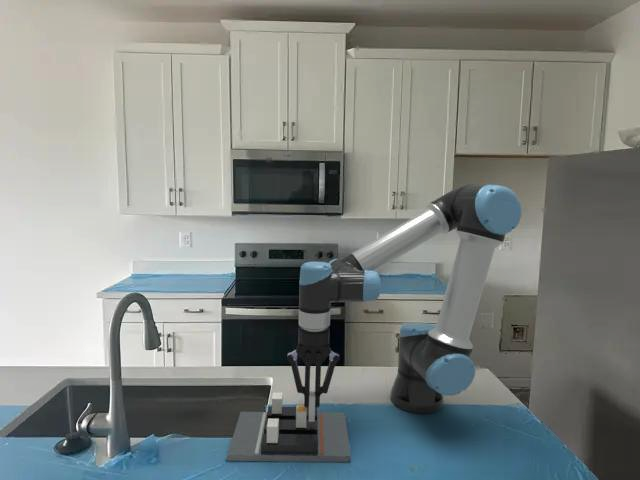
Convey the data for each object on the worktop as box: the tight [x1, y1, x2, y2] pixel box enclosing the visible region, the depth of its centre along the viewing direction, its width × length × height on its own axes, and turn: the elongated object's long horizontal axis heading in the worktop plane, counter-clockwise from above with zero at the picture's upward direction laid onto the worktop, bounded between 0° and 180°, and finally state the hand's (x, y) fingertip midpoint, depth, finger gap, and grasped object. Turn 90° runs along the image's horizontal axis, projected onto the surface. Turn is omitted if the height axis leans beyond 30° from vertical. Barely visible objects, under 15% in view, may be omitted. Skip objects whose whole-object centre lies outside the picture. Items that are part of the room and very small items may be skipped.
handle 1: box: [271, 392, 284, 414], centre depth 116 cm, size 2×4×4 cm
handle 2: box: [267, 418, 279, 443], centre depth 103 cm, size 2×4×4 cm
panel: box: [226, 405, 352, 463], centre depth 110 cm, size 28×19×4 cm
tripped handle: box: [295, 404, 307, 428], centre depth 109 cm, size 2×4×4 cm
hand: (311, 418), depth 110 cm, fingers closed
